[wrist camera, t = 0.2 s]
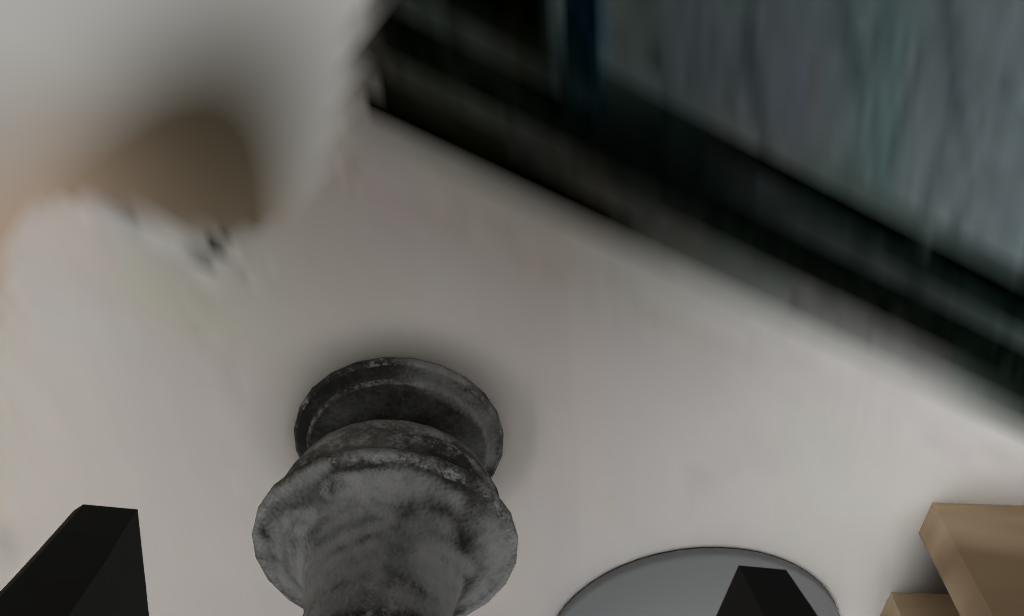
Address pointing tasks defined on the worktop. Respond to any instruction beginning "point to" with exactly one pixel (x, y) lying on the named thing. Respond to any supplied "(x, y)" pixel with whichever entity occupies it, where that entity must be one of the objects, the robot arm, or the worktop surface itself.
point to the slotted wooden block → (970, 562)
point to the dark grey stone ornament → (390, 497)
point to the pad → (684, 585)
